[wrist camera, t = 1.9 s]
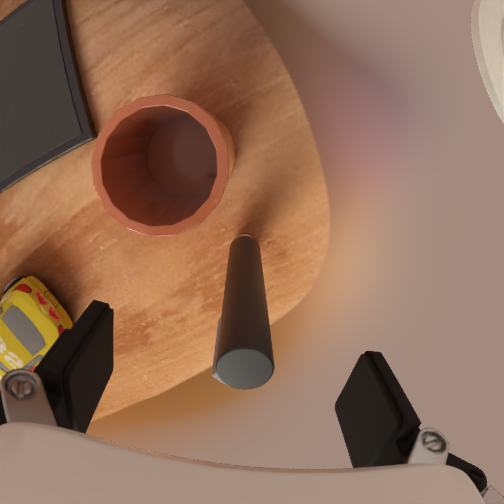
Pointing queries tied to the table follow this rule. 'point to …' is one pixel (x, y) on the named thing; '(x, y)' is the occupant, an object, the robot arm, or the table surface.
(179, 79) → the table surface
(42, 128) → the tablet
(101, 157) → the pen cup
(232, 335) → the stylus
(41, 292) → the toy car
